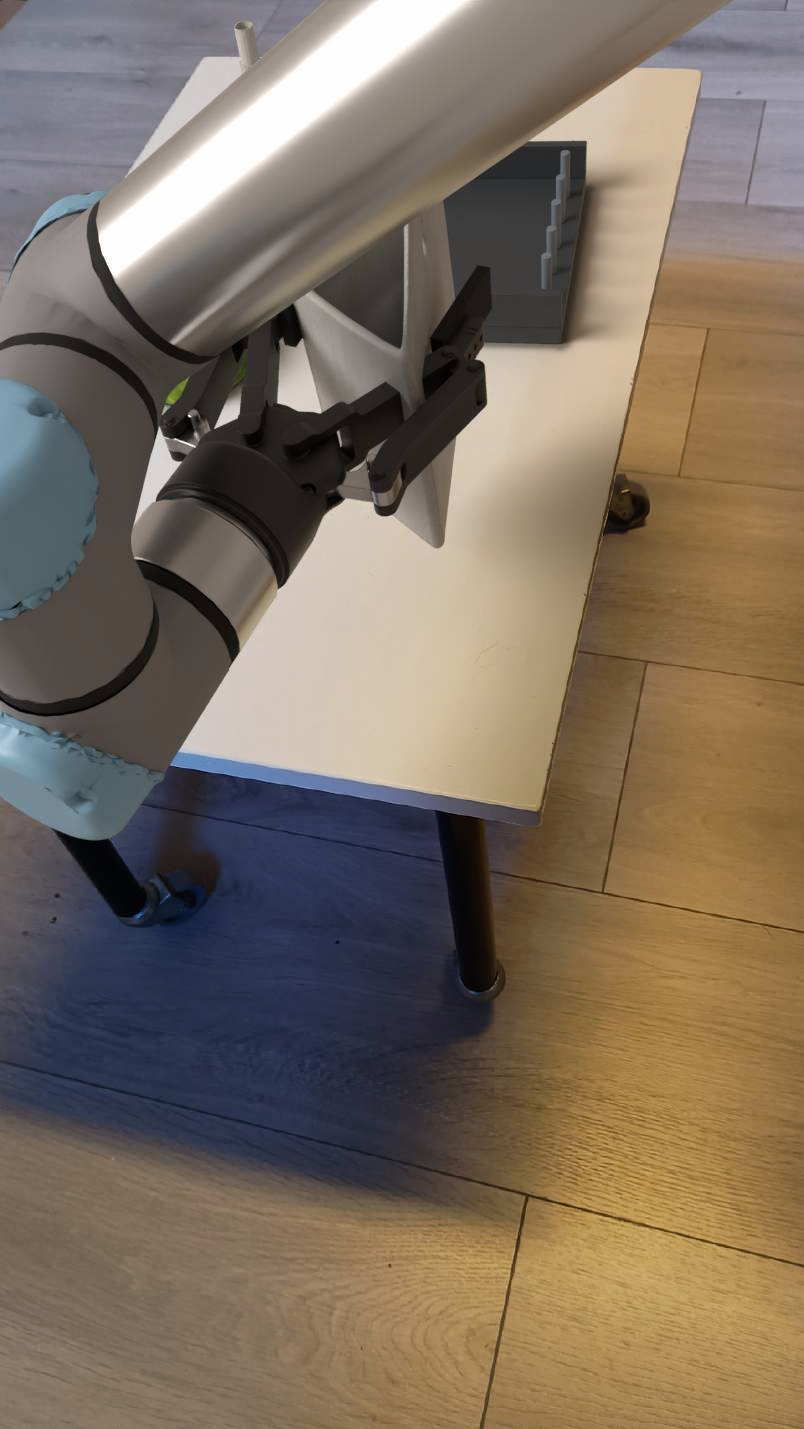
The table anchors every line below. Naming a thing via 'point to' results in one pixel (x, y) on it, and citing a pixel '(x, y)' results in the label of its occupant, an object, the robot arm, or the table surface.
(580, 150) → the dish rack
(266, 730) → the table surface
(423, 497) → the planter
